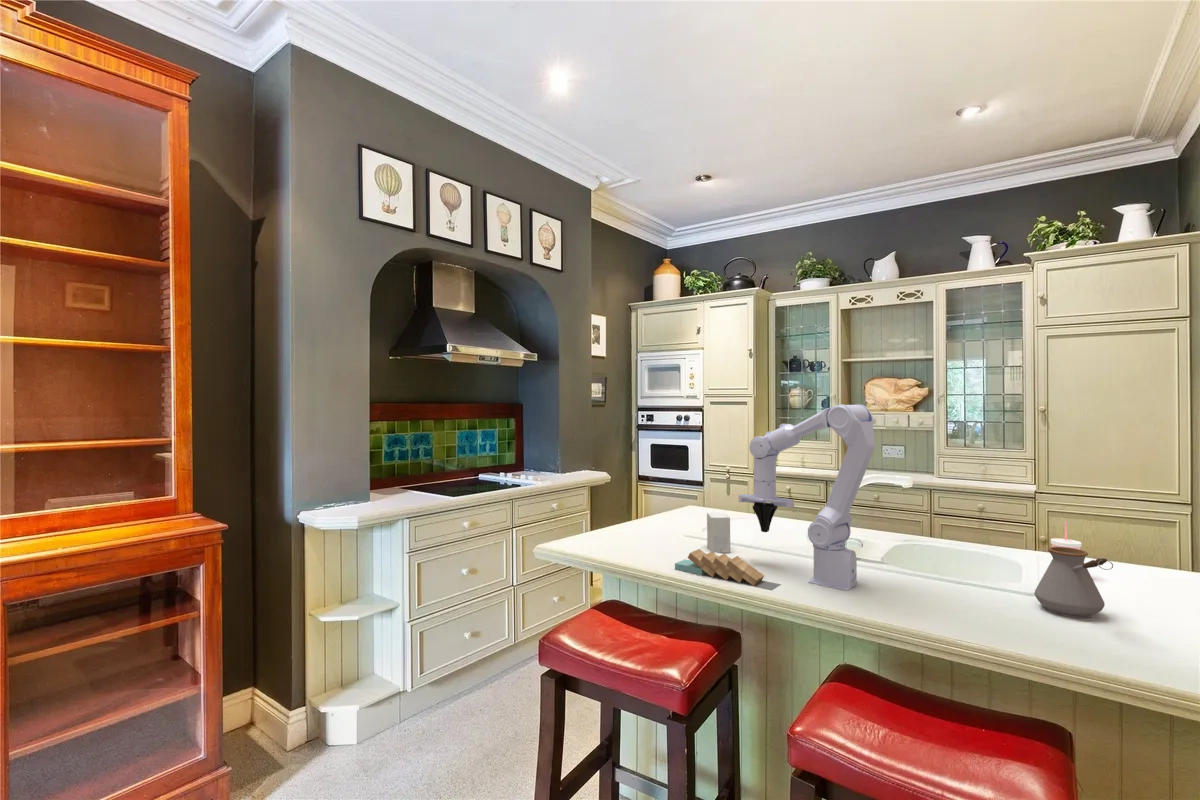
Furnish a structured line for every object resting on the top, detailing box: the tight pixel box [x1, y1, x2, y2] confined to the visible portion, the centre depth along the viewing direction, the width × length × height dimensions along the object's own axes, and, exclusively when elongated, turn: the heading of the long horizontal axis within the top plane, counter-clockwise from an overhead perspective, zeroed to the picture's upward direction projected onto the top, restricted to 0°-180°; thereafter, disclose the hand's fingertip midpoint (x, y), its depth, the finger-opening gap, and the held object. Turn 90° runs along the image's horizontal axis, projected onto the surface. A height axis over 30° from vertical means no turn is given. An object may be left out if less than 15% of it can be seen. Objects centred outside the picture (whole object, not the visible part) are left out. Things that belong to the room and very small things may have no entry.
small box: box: [706, 512, 731, 554], centre depth 172 cm, size 8×6×10 cm
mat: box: [692, 573, 782, 591], centre depth 143 cm, size 21×6×1 cm, turn 51°
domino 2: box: [701, 551, 732, 580], centre depth 145 cm, size 2×5×8 cm
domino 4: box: [726, 555, 765, 587], centre depth 141 cm, size 2×5×8 cm
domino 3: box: [713, 553, 745, 583], centre depth 143 cm, size 2×5×8 cm
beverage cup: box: [1050, 520, 1083, 550], centre depth 145 cm, size 6×6×14 cm
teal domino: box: [674, 559, 706, 576], centre depth 150 cm, size 2×5×8 cm
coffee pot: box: [1034, 546, 1114, 619], centre depth 116 cm, size 21×12×15 cm, turn 162°
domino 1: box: [687, 548, 718, 577], centre depth 148 cm, size 2×5×8 cm
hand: (765, 531), depth 155 cm, fingers closed
